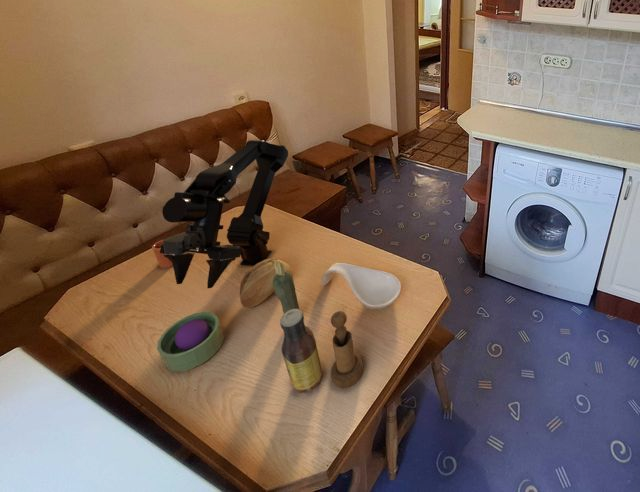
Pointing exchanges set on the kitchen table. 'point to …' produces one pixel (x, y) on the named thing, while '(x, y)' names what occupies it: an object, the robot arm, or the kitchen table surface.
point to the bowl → (193, 357)
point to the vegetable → (284, 287)
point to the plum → (192, 334)
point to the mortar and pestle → (344, 354)
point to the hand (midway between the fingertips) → (194, 286)
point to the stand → (161, 255)
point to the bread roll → (259, 282)
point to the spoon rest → (367, 284)
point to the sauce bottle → (300, 352)
